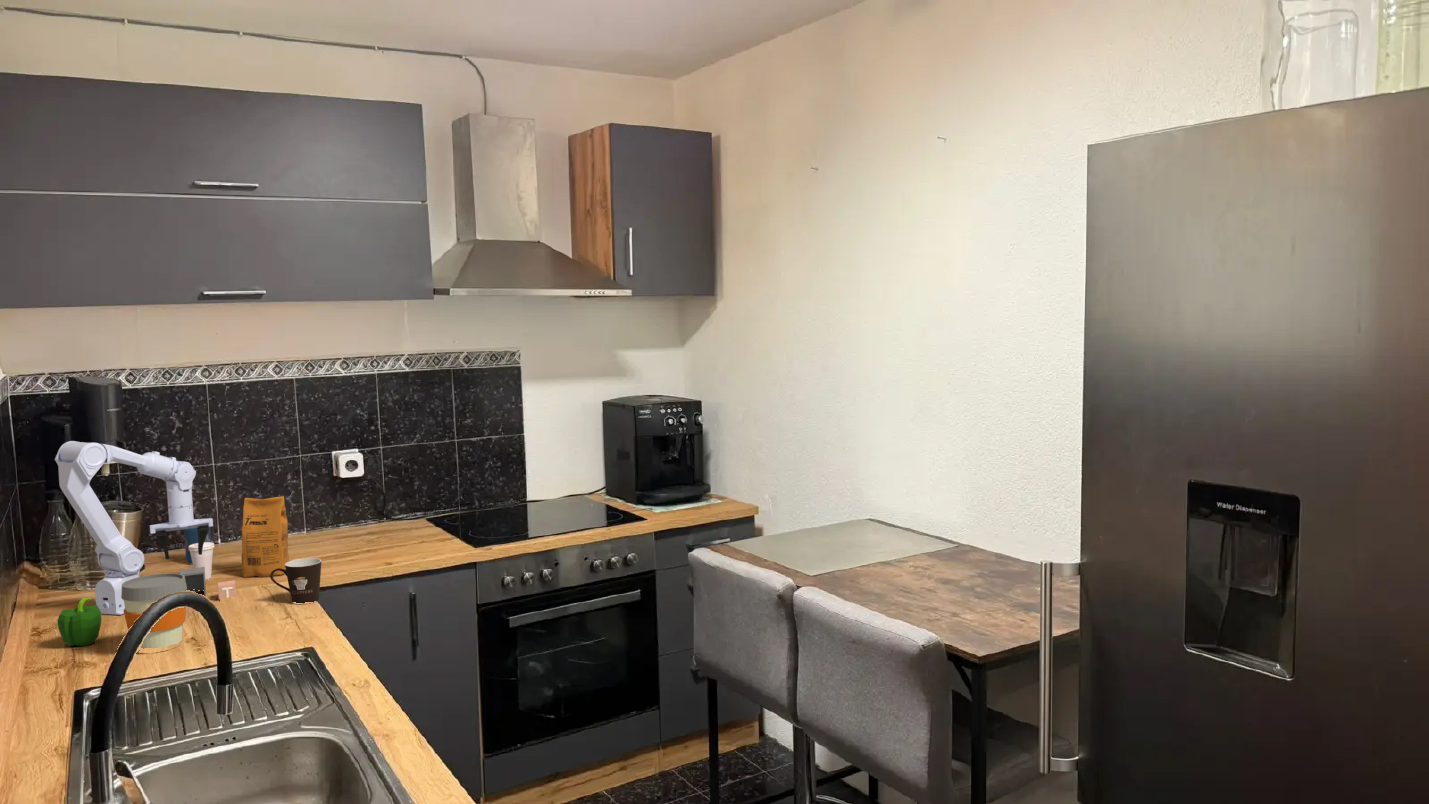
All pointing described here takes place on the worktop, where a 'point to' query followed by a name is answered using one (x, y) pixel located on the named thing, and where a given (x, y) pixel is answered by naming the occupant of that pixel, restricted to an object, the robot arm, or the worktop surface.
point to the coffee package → (264, 537)
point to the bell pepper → (80, 624)
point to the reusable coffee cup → (148, 591)
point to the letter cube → (226, 589)
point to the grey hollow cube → (195, 579)
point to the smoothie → (202, 557)
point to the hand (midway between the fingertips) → (183, 556)
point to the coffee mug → (302, 579)
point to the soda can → (193, 540)
